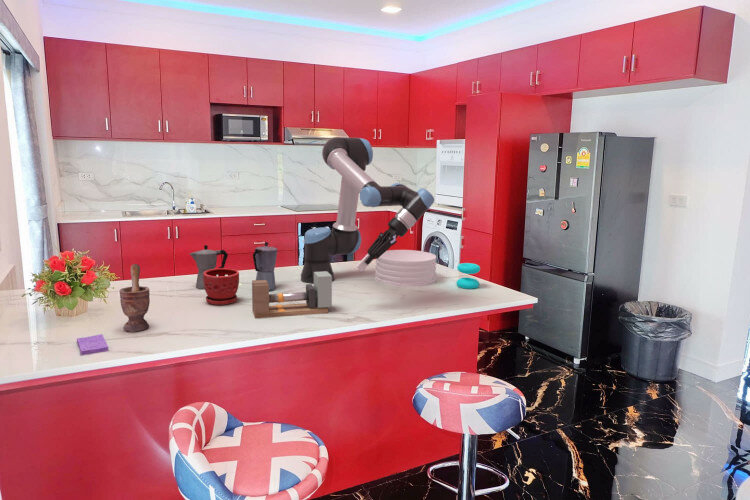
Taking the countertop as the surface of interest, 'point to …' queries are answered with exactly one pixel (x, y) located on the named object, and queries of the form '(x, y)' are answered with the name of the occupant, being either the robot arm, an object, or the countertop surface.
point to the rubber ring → (310, 295)
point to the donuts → (468, 269)
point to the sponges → (92, 344)
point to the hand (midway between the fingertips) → (358, 269)
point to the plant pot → (221, 285)
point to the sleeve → (323, 289)
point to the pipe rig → (263, 299)
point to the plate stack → (406, 268)
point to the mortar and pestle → (135, 302)
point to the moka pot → (265, 264)
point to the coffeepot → (207, 262)
